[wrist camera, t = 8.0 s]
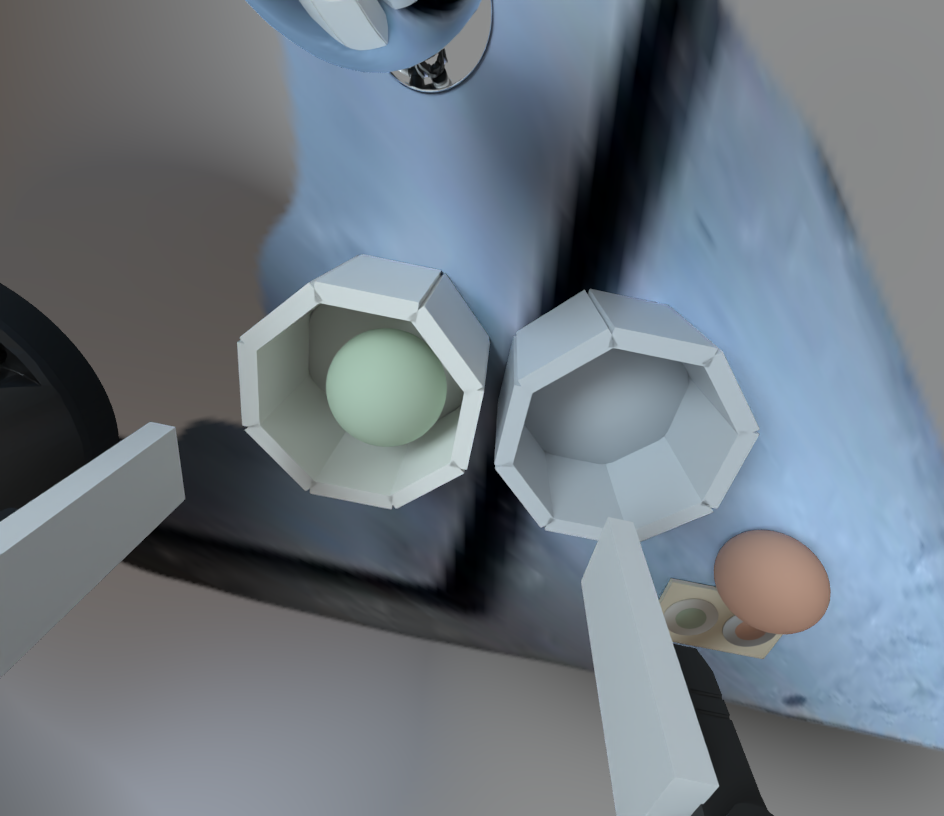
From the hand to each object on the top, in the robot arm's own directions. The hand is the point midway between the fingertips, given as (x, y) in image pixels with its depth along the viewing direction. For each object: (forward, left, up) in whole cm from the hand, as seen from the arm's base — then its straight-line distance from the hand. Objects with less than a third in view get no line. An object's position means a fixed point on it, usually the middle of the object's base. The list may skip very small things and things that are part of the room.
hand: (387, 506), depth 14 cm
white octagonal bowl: (-2, +1, -10) cm, 10 cm away
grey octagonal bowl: (+8, +1, -10) cm, 12 cm away
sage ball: (-2, +1, -9) cm, 9 cm away
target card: (+20, -12, -10) cm, 25 cm away
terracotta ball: (+19, -6, -10) cm, 22 cm away
